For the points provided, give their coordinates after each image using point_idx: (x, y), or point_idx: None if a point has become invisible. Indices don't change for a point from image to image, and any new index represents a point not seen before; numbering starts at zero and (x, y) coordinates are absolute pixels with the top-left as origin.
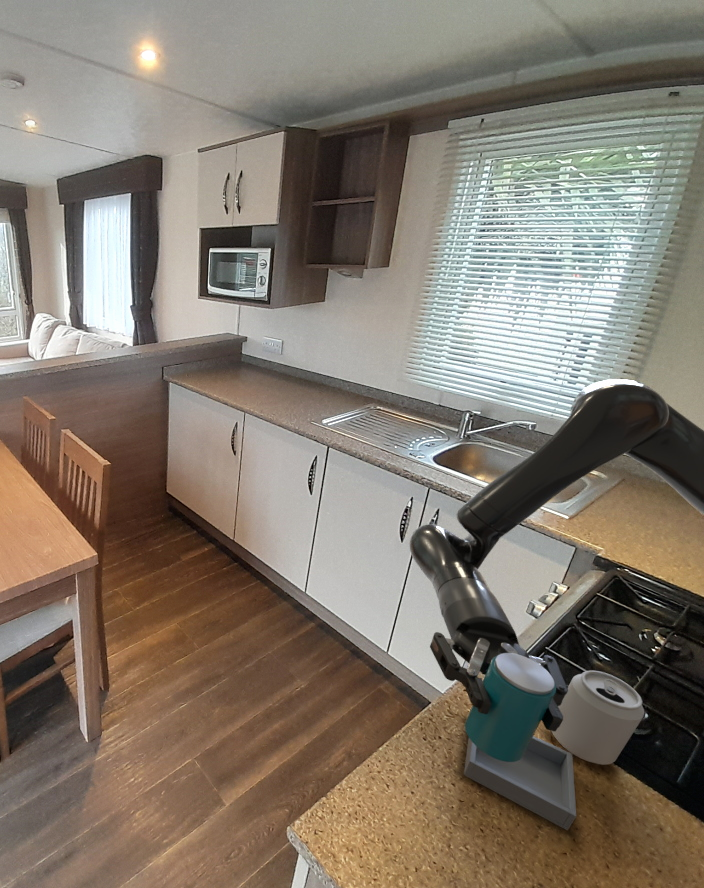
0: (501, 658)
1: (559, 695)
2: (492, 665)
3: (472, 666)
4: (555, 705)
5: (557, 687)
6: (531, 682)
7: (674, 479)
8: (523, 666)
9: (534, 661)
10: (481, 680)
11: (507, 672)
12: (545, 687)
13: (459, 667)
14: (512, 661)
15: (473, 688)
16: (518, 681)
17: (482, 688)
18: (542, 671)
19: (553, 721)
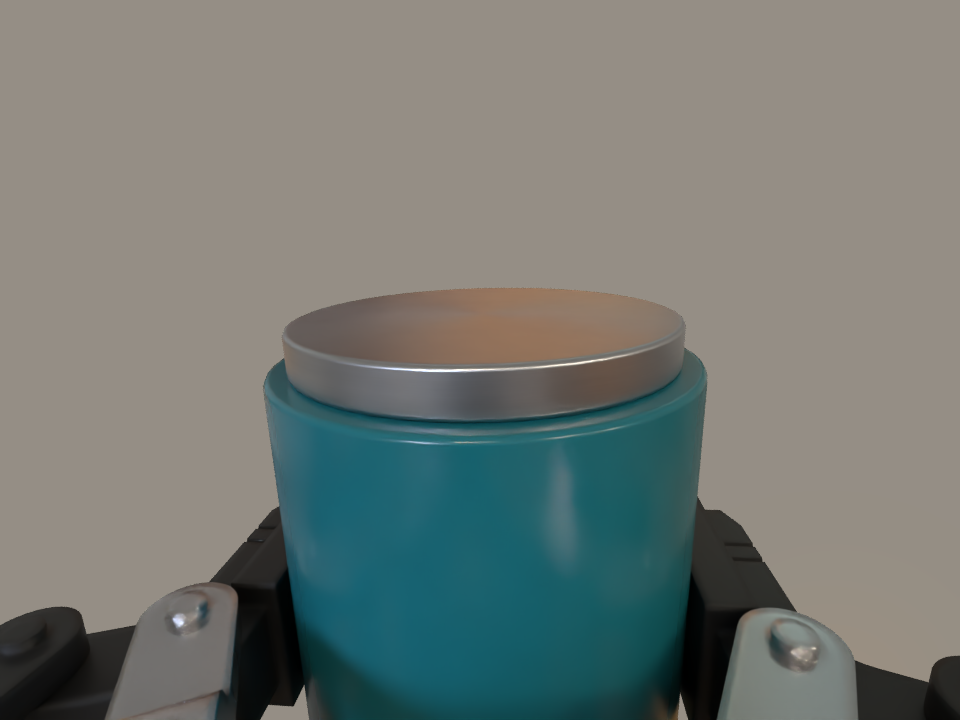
0: (631, 334)
1: (105, 632)
2: (698, 362)
3: (808, 713)
4: (243, 556)
5: (60, 639)
6: (483, 296)
7: None
8: (463, 325)
9: (310, 349)
10: (705, 587)
11: (612, 303)
12: (416, 295)
13: (930, 680)
14: (535, 335)
15: (750, 564)
16: (561, 295)
17: (698, 536)
18: (333, 322)
19: None
